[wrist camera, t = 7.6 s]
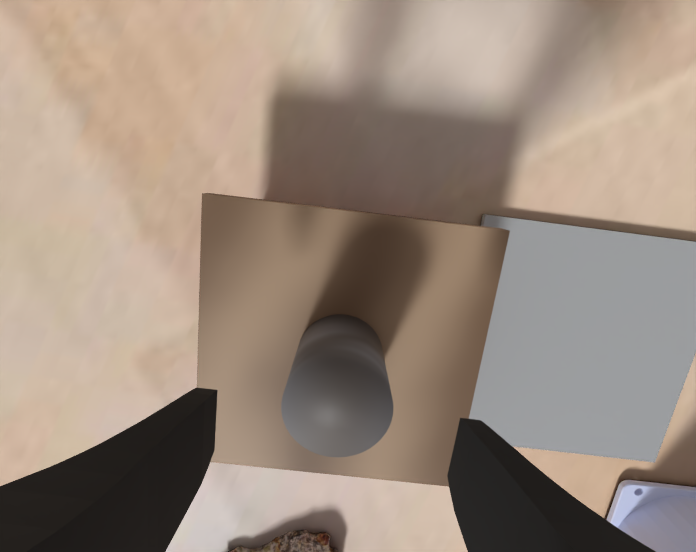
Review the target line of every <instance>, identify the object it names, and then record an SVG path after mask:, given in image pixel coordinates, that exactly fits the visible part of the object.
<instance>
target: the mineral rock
mask: <svg viewBox="0 0 696 552" xmlns="http://www.w3.org/2000/svg"><path fill="white" fill-rule="evenodd" d="M330 537H331V536H330V535H329V534H327V533H326V532H323V533H319V534H310V533H308V532H307V531H306V530H299V531H293V532H288V533H286V534H284V535H282V536H281V537H276V538H275V539H274V540H272V541H271V543H269V544H266V545H264V546H262V547H260V548H254V549H247V548H244V547H241V546H239V547H237V548H235V549H234V550H232V551H228V552H338V551H337V550H336V549H335V548H330V547H329V545H330Z"/></svg>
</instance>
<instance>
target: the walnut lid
mask: <svg viewBox="0 0 696 552" xmlns="http://www.w3.org/2000/svg"><path fill="white" fill-rule="evenodd" d="M509 233H510V231H509V230H506V229H502V228H494V227H486V226H478V225H469V224H461V223H453V222H444V221H436V220H428V219H419V218H411V217H403V216H395V215H386V214H378V213H370V212H361V211H353V210H345V209H336V208H328V207H320V206H311V205H303V204H295V203H287V202H278V201H270V200H262V199H253V198H245V197H237V196H228V195H220V194H212V193H205V194H202V217H201V254H200V291H199V329H198V366H197V388H205V389H214V390H218V392H217V412H216V432H215V450H214V453H213V456H212V458H211V461H210V462H216V463H225V464H235V465H245V466H255V467H264V468H274V469H284V470H294V471H303V472H313V473H323V474H333V475H343V476H352V477H362V478H372V479H382V480H391V481H401V482H411V483H421V484H430V485H440V486H449V482H448V477H447V475H448V470H449V466H450V461H451V457H452V452H453V448H454V443H455V439H456V434H457V430H458V425H459V421H460V418H467V419H469V415H470V411H471V406H472V401H473V397H474V392H475V388H476V383H477V379H478V374H479V370H480V365H481V361H482V356H483V351H484V347H485V342H486V338H487V333H488V329H489V324H490V320H491V315H492V311H493V306H494V301H495V297H496V292H497V288H498V283H499V279H500V274H501V270H502V265H503V261H504V256H505V251H506V247H507V242H508V238H509Z"/></svg>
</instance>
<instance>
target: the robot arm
mask: <svg viewBox="0 0 696 552" xmlns="http://www.w3.org/2000/svg"><path fill="white" fill-rule="evenodd" d="M217 392H218V390H214V389H205V388H195V389H193V390H191V391H190V392H188V393H186V394H185V395H183V396H181V397H180V398H178V399H177V400H175V401H173V402H172V403H170V404H169V405H167V406H165V407H164V408H162V409H160V410H159V411H157V412H156V413H154V414H152V415H151V416H149V417H147V418H146V419H144V420H142V421H141V422H139V423H137V424H135V425H133V426H132V427H130V428H128V429H126V430H124V431H123V432H121V433H119V434H117V435H115V436H114V437H112V438H110V439H108V440H106V441H104V442H102V443H101V444H99V445H97V446H95V447H93V448H91V449H88V450H86V451H84V452H82V453H80V454H78V455H76V456H74V457H71V458H69V459H67V460H65V461H63V462H60V463H58V464H56V465H53V466H51V467H49V468H46V469H44V470H41V471H38V472H36V473H33V474H31V475H28V476H26V477H23V478H21V479H18V480H15V481H13V482H10V483H8V484H5V485H3V486H0V552H165V551H166V549H167V547H168V545H169V544H170V542H171V540H172V538H173V536H174V534H175V532H176V531H177V529H178V527H179V525H180V523H181V521H182V519H183V518H184V516H185V514H186V512H187V510H188V508H189V506H190V505H191V503H192V501H193V499H194V497H195V495H196V493H197V491H198V489H199V487H200V486H201V484H202V481H203V479H204V476H205V474H206V471H207V469H208V466H209V464H210V461H211V458H212V456H213V453H214V450H215V432H216V412H217ZM447 477H448V482H449V488H450V493H451V498H452V502H453V507H454V511H455V514H456V517H457V520H458V523H459V526H460V529H461V532H462V535H463V538H464V541H465V544H466V547H467V550H468V552H696V487H689V486H680V485H671V484H662V483H653V482H644V481H635V480H624V481H622V482H621V483H620V484H619V486H618V489H617V491H616V494H615V497H614V500H613V503H612V506H611V508H610V511H609V514H608V517H607V520H605V519H604V518H602V517H601V516H600V515H598V514H597V513H595V512H594V511H592V510H591V509H589V508H588V507H587V506H585V505H584V504H582V503H581V502H580V501H578V500H577V499H576V498H574V497H573V496H572V495H570V494H569V493H568V492H567V491H565V490H564V489H563V488H561V487H560V486H559V485H558V484H556V483H555V482H554V481H552V480H551V479H550V478H549V477H548V476H546V475H545V474H544V473H543V472H541V471H540V470H539V469H538V468H537V467H535V466H534V465H533V464H532V463H531V462H529V461H528V460H527V459H526V458H525V457H524V456H522V455H521V454H520V453H519V452H518V451H517V450H516V449H514V448H513V447H512V446H511V445H510V444H509V443H508V442H506V441H505V440H504V439H503V438H502V437H501V436H499V435H498V434H497V433H496V432H495V431H494V430H492V429H491V428H490V427H489V426H488V425H486V424H485V423H484V422H482V421H481V420H475V419H467V418H460V421H459V425H458V430H457V434H456V439H455V443H454V448H453V452H452V457H451V461H450V466H449V470H448V475H447Z"/></svg>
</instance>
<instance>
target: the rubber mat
mask: <svg viewBox="0 0 696 552" xmlns="http://www.w3.org/2000/svg"><path fill="white" fill-rule="evenodd" d="M481 226H486V227H494V228H502V229H506V230H509V231H510V233H509V238H508V242H507V247H506V251H505V256H504V261H503V265H502V270H501V274H500V279H499V283H498V288H497V292H496V297H495V301H494V306H493V311H492V315H491V320H490V324H489V329H488V333H487V338H486V342H485V347H484V351H483V356H482V361H481V365H480V370H479V374H478V379H477V383H476V388H475V392H474V397H473V401H472V406H471V411H470V415H469V419H475V420H481V421H482V422H484V423H485V424H486V425H488V426H489V427H490V428H491V429H492V430H494V431H495V432H496V433H497V434H498V435H499V436H501V437H502V438H503V439H504V440H505V441H506V442H508V443H509V444H510V445H511V446H514V447H523V448H532V449H541V450H550V451H559V452H568V453H576V454H585V455H594V456H603V457H612V458H621V459H630V460H638V461H647V462H655V460H656V458H657V455H658V452H659V450H660V447H661V444H662V442H663V439H664V436H665V433H666V431H667V428H668V425H669V423H670V420H671V417H672V415H673V412H674V409H675V407H676V404H677V401H678V399H679V396H680V393H681V391H682V388H683V385H684V382H685V380H686V377H687V374H688V372H689V369H690V366H691V364H692V361H693V358H694V356H695V353H696V242H695V241H687V240H679V239H672V238H664V237H656V236H649V235H641V234H633V233H625V232H618V231H610V230H602V229H595V228H587V227H579V226H571V225H564V224H556V223H548V222H541V221H533V220H525V219H517V218H510V217H502V216H494V215H487V214H483V216H482V221H481Z"/></svg>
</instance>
